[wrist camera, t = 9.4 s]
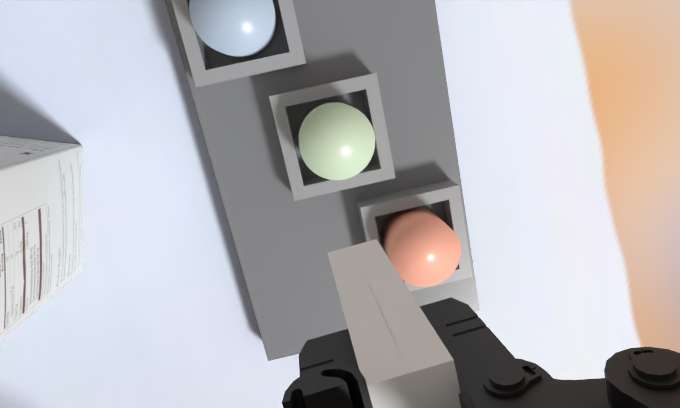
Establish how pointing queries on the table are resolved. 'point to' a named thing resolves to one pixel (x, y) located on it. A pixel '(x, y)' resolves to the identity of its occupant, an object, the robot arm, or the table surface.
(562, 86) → the table surface
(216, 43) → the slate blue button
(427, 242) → the coral button
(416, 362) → the robot arm
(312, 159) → the sage button
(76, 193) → the supplement box
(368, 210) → the panel
